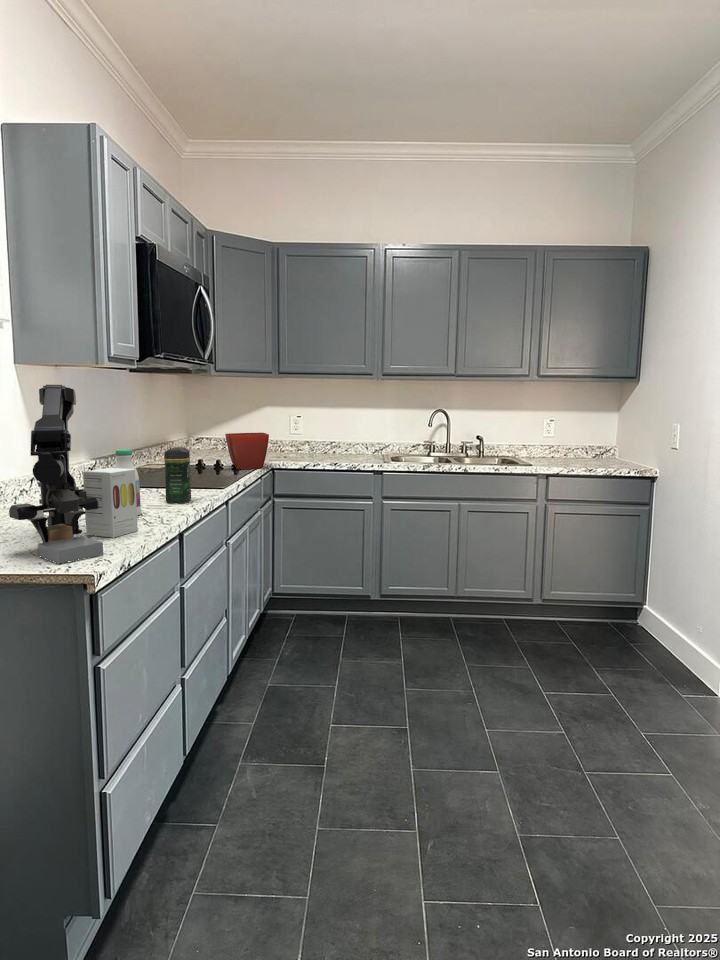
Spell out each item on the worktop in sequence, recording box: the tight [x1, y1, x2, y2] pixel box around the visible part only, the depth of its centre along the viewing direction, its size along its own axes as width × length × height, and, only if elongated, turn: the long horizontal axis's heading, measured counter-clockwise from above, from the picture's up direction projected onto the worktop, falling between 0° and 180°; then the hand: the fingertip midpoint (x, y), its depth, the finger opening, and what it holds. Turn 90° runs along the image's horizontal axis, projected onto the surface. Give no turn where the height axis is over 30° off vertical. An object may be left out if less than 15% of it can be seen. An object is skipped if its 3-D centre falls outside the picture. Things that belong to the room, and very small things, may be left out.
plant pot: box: [225, 432, 270, 470], centre depth 306 cm, size 19×19×17 cm
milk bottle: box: [114, 448, 142, 517], centre depth 187 cm, size 8×8×20 cm
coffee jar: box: [163, 446, 192, 504], centre depth 211 cm, size 10×8×19 cm
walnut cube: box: [42, 524, 74, 543], centre depth 150 cm, size 5×5×5 cm
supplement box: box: [82, 467, 139, 539], centre depth 164 cm, size 10×9×17 cm
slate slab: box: [37, 535, 104, 564], centre depth 141 cm, size 10×10×3 cm
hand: (57, 542), depth 150 cm, fingers open, 5 cm apart
